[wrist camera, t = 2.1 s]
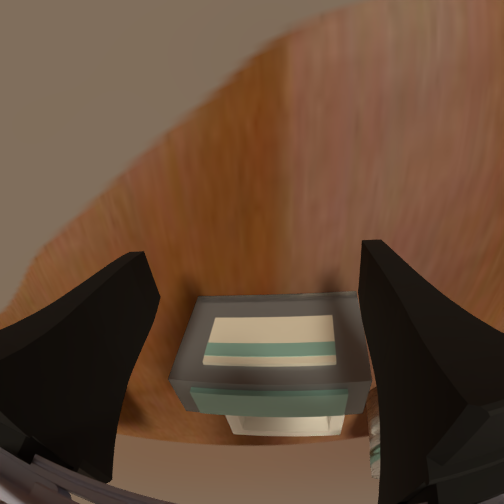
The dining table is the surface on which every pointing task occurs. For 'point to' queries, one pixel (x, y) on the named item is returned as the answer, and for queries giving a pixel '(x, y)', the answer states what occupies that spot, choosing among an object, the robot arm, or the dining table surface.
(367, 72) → the dining table surface
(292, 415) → the charging station
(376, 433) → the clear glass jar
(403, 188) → the dining table surface
